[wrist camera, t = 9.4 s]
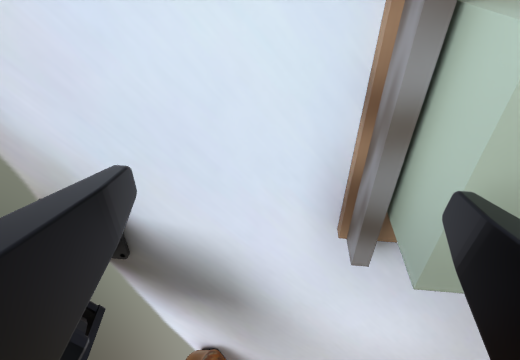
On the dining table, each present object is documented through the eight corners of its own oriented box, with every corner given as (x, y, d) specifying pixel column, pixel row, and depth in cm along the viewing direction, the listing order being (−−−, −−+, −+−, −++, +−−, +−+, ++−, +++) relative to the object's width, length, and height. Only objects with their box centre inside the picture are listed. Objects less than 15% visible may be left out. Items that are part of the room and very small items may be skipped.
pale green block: (443, 203, 21) (497, 296, 15) (382, 199, 21) (413, 289, 16) (540, -2, 14) (708, 31, 8) (446, -3, 14) (546, 27, 8)
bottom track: (455, 237, 24) (476, 275, 21) (337, 228, 25) (342, 264, 22) (651, -122, 12) (759, -143, 9) (411, -118, 13) (443, -138, 10)
